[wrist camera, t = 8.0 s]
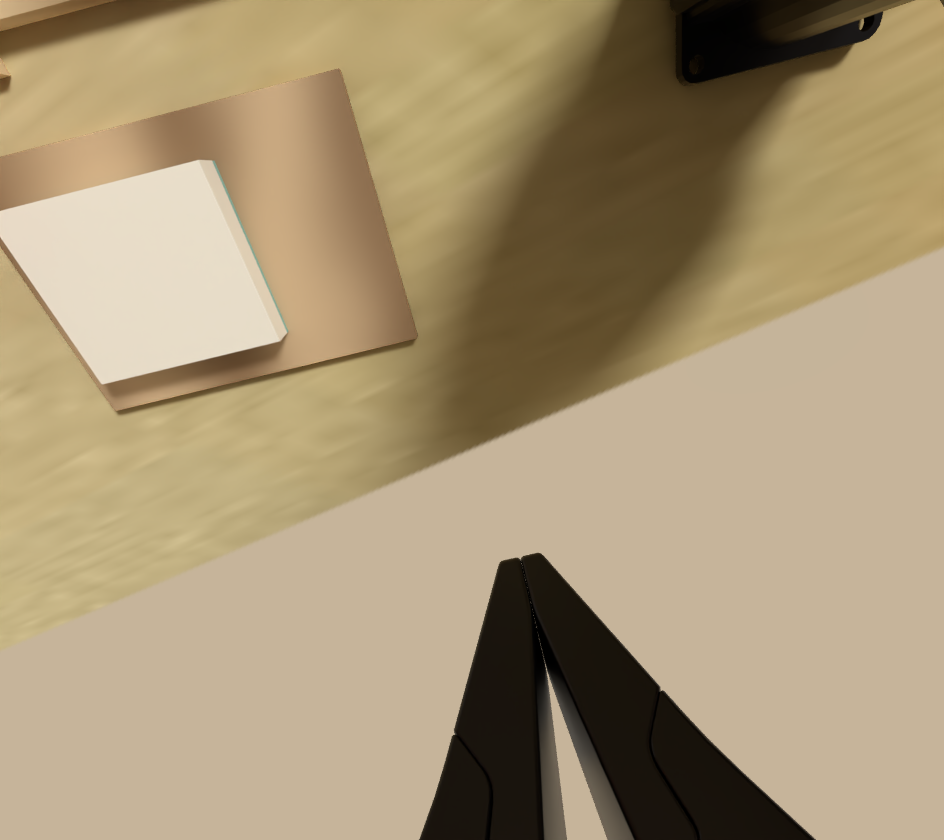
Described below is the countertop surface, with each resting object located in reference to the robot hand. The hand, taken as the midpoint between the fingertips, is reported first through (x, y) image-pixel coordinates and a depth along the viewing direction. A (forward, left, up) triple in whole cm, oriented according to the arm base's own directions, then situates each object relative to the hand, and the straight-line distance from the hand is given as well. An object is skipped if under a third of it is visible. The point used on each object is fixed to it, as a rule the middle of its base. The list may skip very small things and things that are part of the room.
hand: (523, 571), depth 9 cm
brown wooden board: (+9, -6, -12) cm, 16 cm away
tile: (+7, -6, -11) cm, 14 cm away
